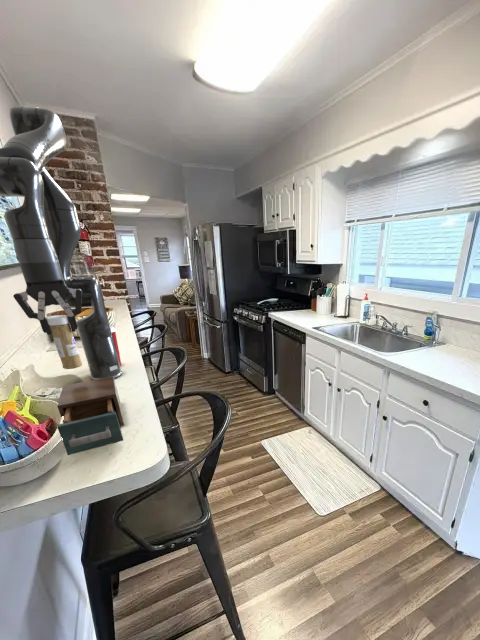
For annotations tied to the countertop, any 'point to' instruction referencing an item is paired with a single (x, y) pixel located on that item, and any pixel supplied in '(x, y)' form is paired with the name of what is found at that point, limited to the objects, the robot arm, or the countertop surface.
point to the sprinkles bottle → (64, 341)
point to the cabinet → (90, 395)
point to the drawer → (90, 426)
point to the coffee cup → (115, 342)
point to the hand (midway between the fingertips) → (61, 332)
